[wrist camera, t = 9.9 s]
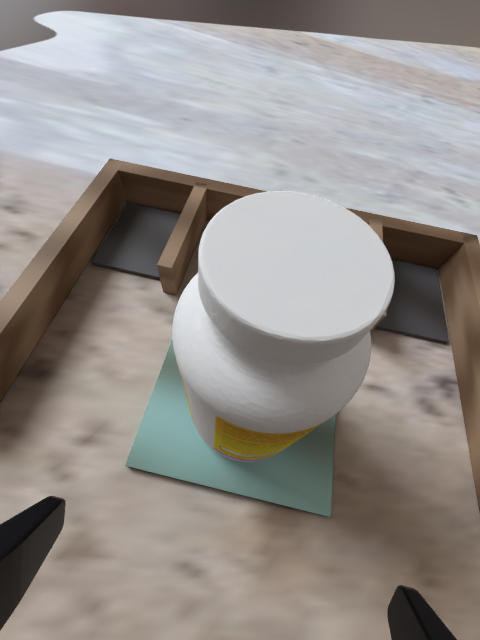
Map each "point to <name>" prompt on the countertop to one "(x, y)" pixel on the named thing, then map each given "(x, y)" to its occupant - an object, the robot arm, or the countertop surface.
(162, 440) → the wooden compartment box
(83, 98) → the countertop surface
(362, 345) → the supplement bottle
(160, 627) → the countertop surface
